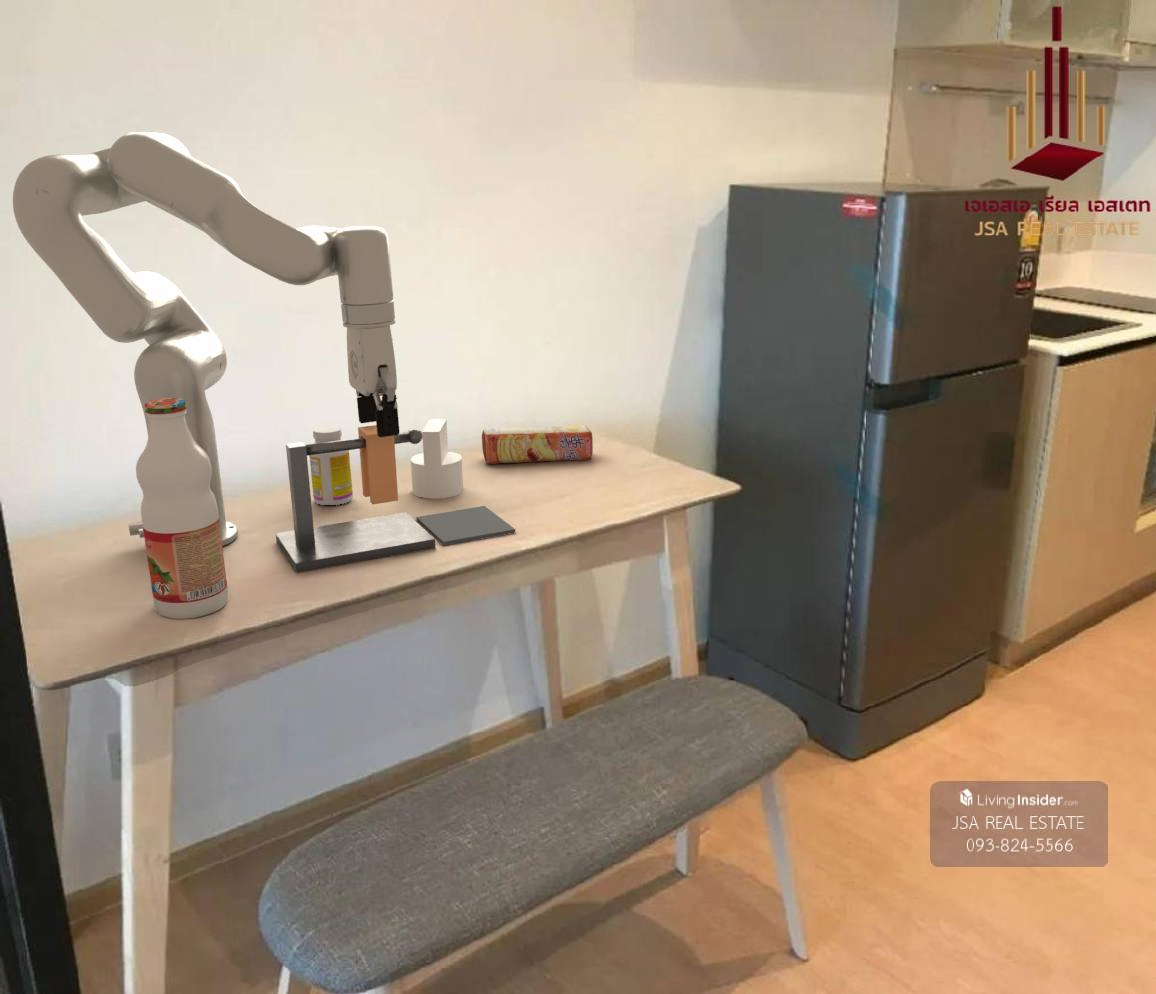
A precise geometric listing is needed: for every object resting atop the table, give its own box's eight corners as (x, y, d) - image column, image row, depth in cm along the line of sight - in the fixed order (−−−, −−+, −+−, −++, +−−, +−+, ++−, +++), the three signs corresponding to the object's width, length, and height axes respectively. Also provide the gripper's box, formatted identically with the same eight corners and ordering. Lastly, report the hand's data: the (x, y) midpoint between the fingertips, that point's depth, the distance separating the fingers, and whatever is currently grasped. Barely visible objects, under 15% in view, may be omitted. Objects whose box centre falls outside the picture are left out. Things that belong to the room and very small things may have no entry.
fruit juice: (220, 618, 138) (194, 409, 129) (146, 622, 137) (114, 411, 129) (235, 590, 147) (211, 392, 138) (165, 593, 146) (137, 394, 137)
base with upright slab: (460, 498, 184) (456, 431, 181) (408, 498, 185) (404, 432, 181) (466, 482, 193) (463, 418, 189) (416, 483, 193) (413, 419, 189)
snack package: (588, 453, 212) (588, 420, 210) (593, 462, 206) (593, 428, 203) (482, 458, 209) (480, 425, 207) (484, 467, 203) (482, 433, 201)
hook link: (372, 504, 160) (367, 435, 156) (363, 495, 164) (357, 427, 161) (398, 500, 162) (393, 431, 158) (388, 491, 166) (383, 424, 163)
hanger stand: (296, 572, 153) (285, 458, 147) (276, 542, 165) (265, 435, 159) (442, 546, 162) (436, 438, 157) (413, 519, 174) (407, 417, 169)
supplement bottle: (358, 495, 187) (352, 424, 183) (346, 507, 180) (340, 434, 176) (321, 494, 187) (314, 423, 183) (308, 506, 181) (301, 433, 177)
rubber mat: (443, 545, 163) (443, 541, 163) (416, 520, 174) (416, 516, 174) (515, 532, 168) (515, 529, 168) (484, 509, 179) (484, 505, 179)
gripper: (328, 309, 160) (339, 420, 165) (359, 324, 145) (370, 445, 150) (376, 305, 163) (386, 413, 168) (411, 319, 148) (421, 437, 154)
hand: (379, 428), depth 159 cm, fingers open, 9 cm apart
